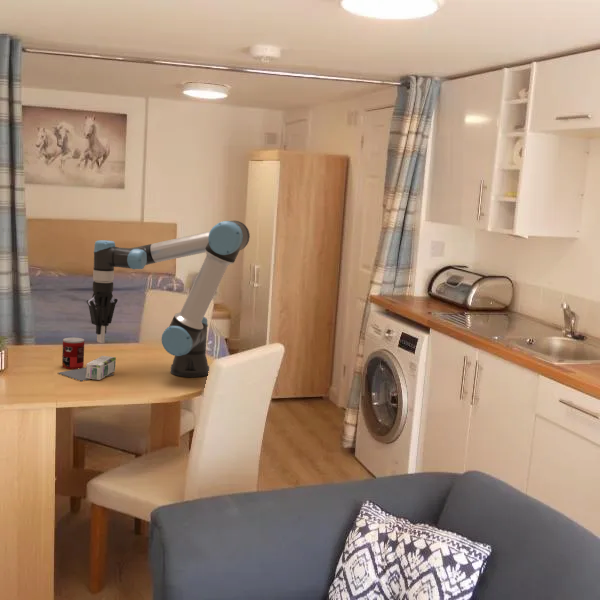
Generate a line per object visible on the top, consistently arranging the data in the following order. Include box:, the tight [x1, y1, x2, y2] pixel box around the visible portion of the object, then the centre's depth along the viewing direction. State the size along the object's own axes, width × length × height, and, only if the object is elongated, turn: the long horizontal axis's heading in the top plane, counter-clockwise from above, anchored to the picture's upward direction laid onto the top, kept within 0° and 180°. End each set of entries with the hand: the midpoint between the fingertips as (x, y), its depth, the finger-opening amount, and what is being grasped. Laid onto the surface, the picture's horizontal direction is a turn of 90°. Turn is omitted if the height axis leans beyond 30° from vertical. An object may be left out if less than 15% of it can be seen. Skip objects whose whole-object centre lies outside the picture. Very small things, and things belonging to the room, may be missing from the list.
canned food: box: [61, 337, 85, 370], centre depth 286 cm, size 8×8×11 cm
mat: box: [58, 367, 115, 382], centre depth 277 cm, size 14×15×1 cm
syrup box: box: [85, 355, 117, 381], centre depth 276 cm, size 6×6×14 cm
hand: (100, 342), depth 281 cm, fingers closed
